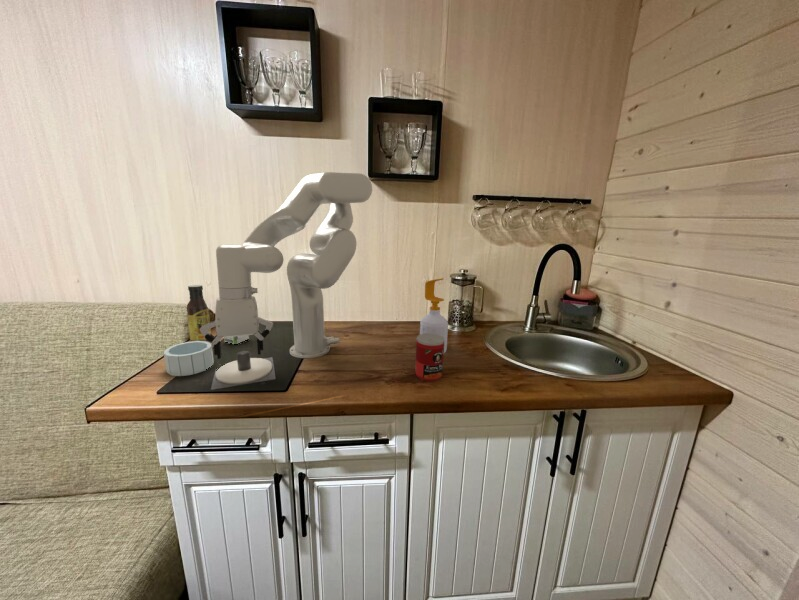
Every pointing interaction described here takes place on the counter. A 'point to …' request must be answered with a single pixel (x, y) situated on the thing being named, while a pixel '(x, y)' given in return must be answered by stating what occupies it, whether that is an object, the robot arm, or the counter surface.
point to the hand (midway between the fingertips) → (239, 355)
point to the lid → (243, 369)
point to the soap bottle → (434, 315)
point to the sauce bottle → (197, 313)
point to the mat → (270, 376)
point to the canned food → (429, 356)
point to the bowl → (188, 358)
